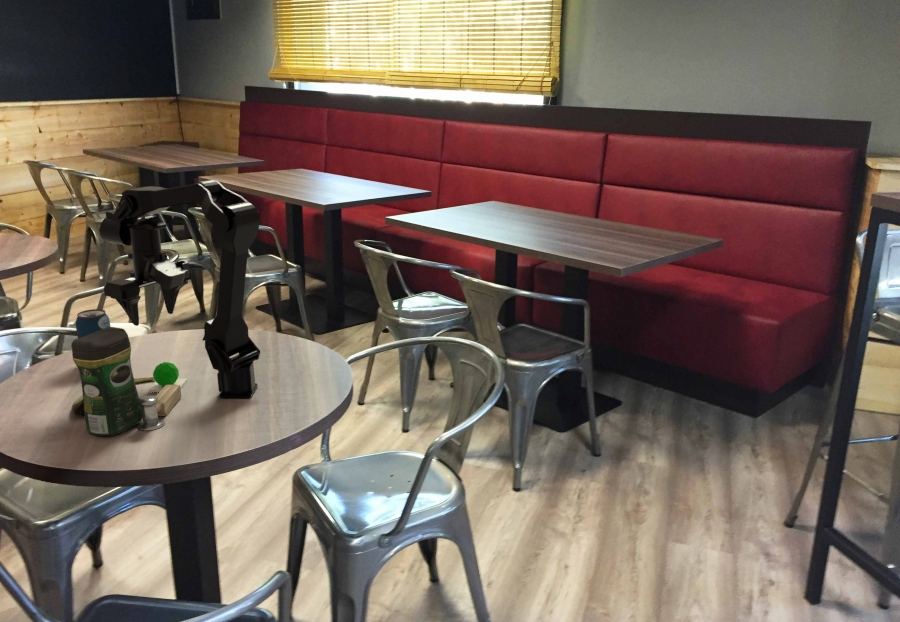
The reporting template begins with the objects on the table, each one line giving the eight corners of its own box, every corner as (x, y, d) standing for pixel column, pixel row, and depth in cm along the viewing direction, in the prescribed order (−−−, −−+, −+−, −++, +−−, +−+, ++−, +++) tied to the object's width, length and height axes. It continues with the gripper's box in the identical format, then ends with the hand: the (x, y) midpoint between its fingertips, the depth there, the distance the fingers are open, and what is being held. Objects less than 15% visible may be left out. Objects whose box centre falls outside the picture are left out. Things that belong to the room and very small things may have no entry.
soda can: (121, 361, 169) (114, 311, 166) (93, 371, 164) (85, 319, 160) (103, 355, 173) (96, 306, 170) (75, 364, 168) (67, 314, 164)
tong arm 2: (181, 396, 150) (180, 384, 150) (162, 420, 140) (160, 407, 139) (174, 396, 150) (172, 384, 150) (154, 420, 140) (152, 407, 139)
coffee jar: (119, 412, 143) (103, 321, 138) (151, 418, 140) (136, 325, 135) (78, 434, 135) (59, 337, 129) (110, 441, 132) (93, 342, 126)
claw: (108, 421, 141) (106, 404, 140) (57, 419, 141) (54, 403, 140) (155, 382, 159) (153, 368, 159) (110, 382, 160) (107, 367, 159)
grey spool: (168, 419, 141) (165, 394, 139) (159, 430, 136) (156, 404, 135) (143, 419, 141) (139, 394, 139) (133, 430, 136) (129, 404, 135)
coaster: (187, 381, 158) (186, 378, 158) (177, 392, 153) (177, 389, 153) (159, 381, 158) (158, 378, 158) (148, 392, 153) (148, 390, 152)
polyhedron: (158, 380, 157) (156, 359, 156) (182, 379, 158) (180, 358, 156) (151, 389, 153) (148, 368, 151) (176, 389, 153) (173, 367, 152)
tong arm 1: (174, 396, 150) (173, 384, 150) (153, 420, 140) (152, 407, 139) (167, 396, 150) (166, 384, 150) (146, 420, 140) (144, 407, 139)
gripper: (137, 262, 143) (146, 338, 147) (208, 244, 159) (213, 313, 163) (97, 255, 147) (107, 329, 152) (170, 238, 163) (176, 305, 168)
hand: (153, 319), depth 159 cm, fingers open, 9 cm apart
